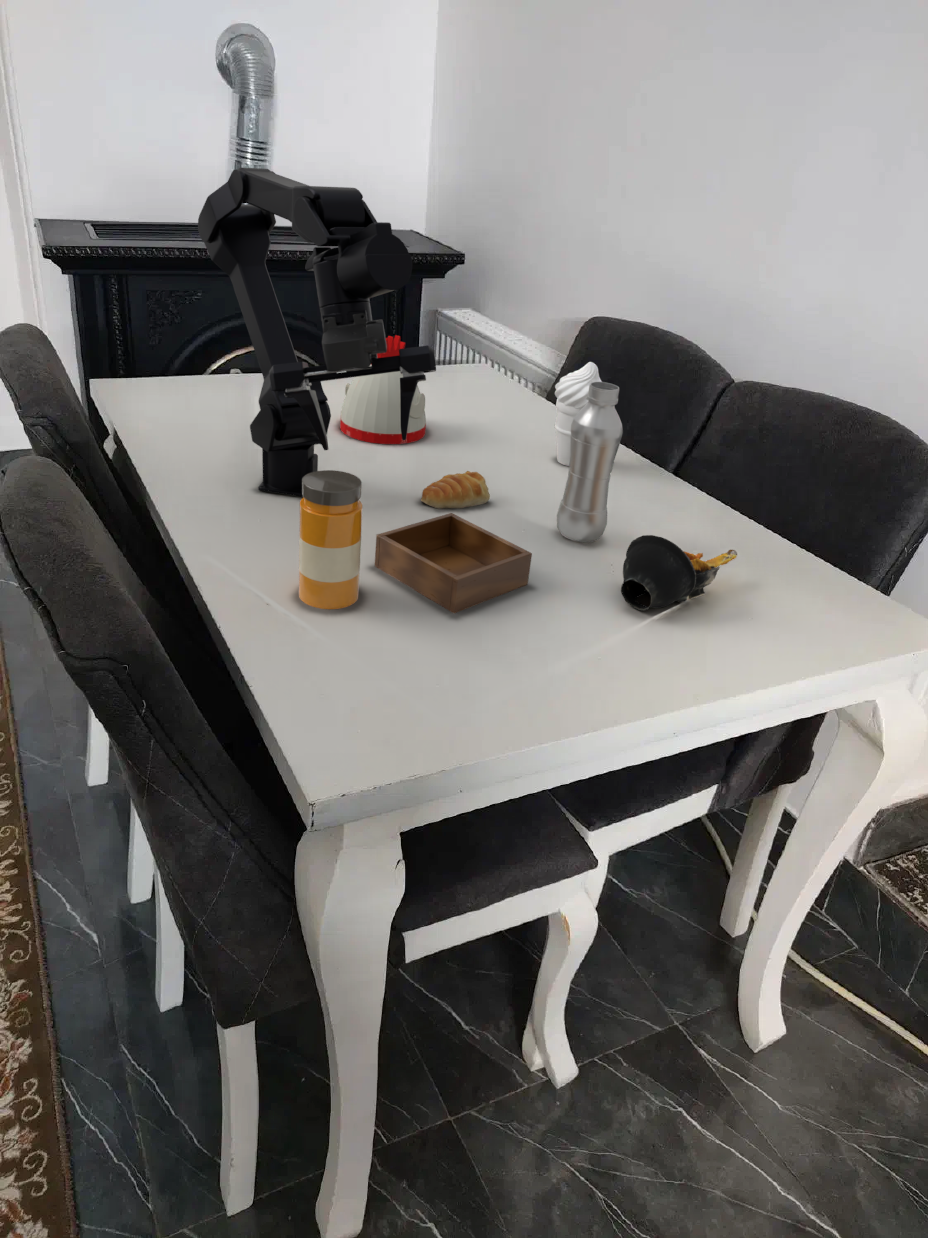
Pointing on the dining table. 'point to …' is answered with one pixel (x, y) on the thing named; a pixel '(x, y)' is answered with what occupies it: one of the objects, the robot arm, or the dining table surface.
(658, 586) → the fried shrimp in bowl
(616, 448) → the silver metal bottle
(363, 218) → the robot arm
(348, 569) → the jar
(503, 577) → the wooden box
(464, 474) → the pastry
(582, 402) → the ice cream cone
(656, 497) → the dining table surface
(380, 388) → the kitchen timer
